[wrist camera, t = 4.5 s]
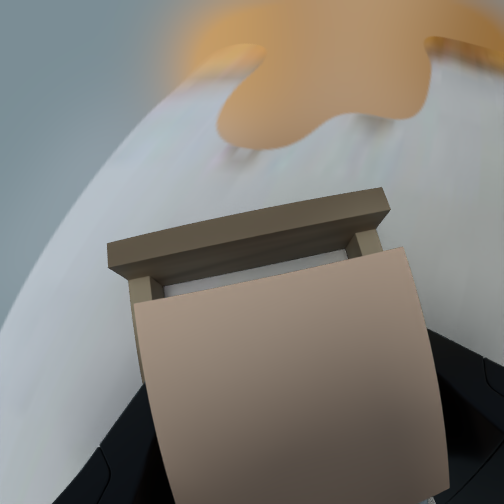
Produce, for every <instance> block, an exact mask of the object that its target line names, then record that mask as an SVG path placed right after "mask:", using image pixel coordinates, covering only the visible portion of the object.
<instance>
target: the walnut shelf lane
mask: <svg viewBox="0 0 504 504" xmlns="http://www.w3.org/2000/svg"><path fill="white" fill-rule="evenodd" d="M390 210H391V209H390V206H389V204H388V201H387V198H386V196H385V193H384V191H383V188H382V187H380V188H374V189H368V190H362V191H356V192H350V193H344V194H339V195H333V196H327V197H322V198H316V199H311V200H306V201H300V202H295V203H290V204H284V205H279V206H274V207H269V208H264V209H259V210H254V211H249V212H244V213H239V214H234V215H229V216H225V217H220V218H215V219H211V220H206V221H201V222H197V223H192V224H188V225H183V226H179V227H174V228H170V229H165V230H161V231H157V232H152V233H148V234H144V235H139V236H135V237H131V238H127V239H123V240H119V241H114V242H110V243H107V254H108V268H109V269H111V270H113V271H114V272H116V273H117V274H119V275H121V276H122V277H124V278H125V279H127V280H128V283H129V293H130V302H131V311H132V319H133V327H134V334H135V341H136V347H137V354H138V360H139V366H140V372H141V377H142V383H143V384H144V382H145V377H144V372H143V366H142V360H141V354H140V348H139V341H138V334H137V327H136V320H135V312H134V304H135V303H140V302H145V301H151V300H156V299H161V298H165V297H164V290H163V286H167V285H172V284H177V283H182V282H187V281H192V280H197V279H202V278H207V277H212V276H217V275H222V274H226V273H231V272H236V271H241V270H246V269H251V268H255V267H260V266H265V265H270V264H275V263H279V262H284V261H289V260H293V259H298V258H303V257H307V256H312V255H317V254H321V253H326V252H331V251H335V250H340V249H344V248H345V249H346V252H347V256H348V259H352V258H357V257H361V256H365V255H369V254H374V253H378V252H382V251H383V249H382V246H381V243H380V240H379V237H378V234H377V231H376V228H377V227H378V225H379V224H380V223H381V222H382V220H383V219H384V218H385V216H386V215H387V214H388V212H389V211H390Z"/></svg>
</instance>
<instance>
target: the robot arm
mask: <svg viewBox="0 0 504 504" xmlns="http://www.w3.org/2000/svg"><path fill="white" fill-rule="evenodd" d="M427 332H428V337H429V341H430V345H431V350H432V355H433V359H434V364H435V370H436V375H437V380H438V386H439V392H440V398H441V404H442V411H443V418H444V426H445V434H446V444H447V454H448V467H449V484H450V488H449V489H447V490H445V491H443V492H441V493H439V494H437V495H435V496H433V498H434V500H435V502H436V504H504V367H503V366H501V365H499V364H497V363H495V362H493V361H491V360H489V359H487V358H483V356H481V355H479V354H477V353H475V352H473V351H471V350H469V349H467V348H465V347H463V346H461V345H459V344H457V343H455V342H454V341H452V340H450V339H448V338H446V337H444V336H442V335H440V334H438V333H436V332H434V331H432V330H430V329H428V328H427ZM52 504H176V503H175V500H174V497H173V494H172V490H171V487H170V484H169V480H168V477H167V473H166V470H165V466H164V462H163V458H162V455H161V451H160V447H159V443H158V439H157V435H156V430H155V426H154V422H153V417H152V413H151V408H150V403H149V398H148V393H147V388H146V383H145V382H144V384H143V385H142V386H141V388H140V389H139V391H138V392H137V393H136V395H135V396H134V397H133V399H132V400H131V402H130V403H129V404H128V406H127V407H126V409H125V410H124V411H123V413H122V414H121V416H120V417H119V418H118V420H117V421H116V422H115V424H114V425H113V427H112V428H111V429H110V431H109V432H108V434H107V435H106V436H105V438H104V439H103V441H102V442H101V443H100V447H98V448H97V449H96V450H95V452H94V453H93V455H92V456H91V457H90V459H89V460H88V461H87V463H86V464H85V465H84V467H83V468H82V469H81V471H80V472H79V473H78V474H77V476H76V477H75V478H74V479H73V480H72V482H71V483H70V484H69V485H68V486H67V487H66V489H65V490H64V491H63V492H62V493H61V494H60V495H59V496H58V497H57V499H56V500H55V501H54V502H53V503H52Z"/></svg>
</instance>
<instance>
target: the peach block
mask: <svg viewBox="0 0 504 504" xmlns="http://www.w3.org/2000/svg"><path fill="white" fill-rule="evenodd" d="M134 312H135V320H136V327H137V334H138V341H139V348H140V354H141V360H142V366H143V372H144V377H145V383H146V388H147V393H148V398H149V403H150V408H151V413H152V417H153V422H154V426H155V430H156V435H157V439H158V443H159V447H160V451H161V455H162V458H163V462H164V466H165V470H166V473H167V477H168V480H169V484H170V487H171V490H172V494H173V497H174V500H175V503H176V504H418V503H420V502H422V501H424V500H426V499H429V498H431V497H433V496H435V495H437V494H439V493H441V492H443V491H445V490H447V489H449V488H450V484H449V467H448V454H447V444H446V434H445V426H444V418H443V411H442V404H441V398H440V392H439V386H438V380H437V375H436V370H435V364H434V359H433V355H432V350H431V345H430V341H429V337H428V332H427V328H426V324H425V320H424V316H423V312H422V308H421V305H420V301H419V297H418V294H417V290H416V287H415V283H414V280H413V276H412V273H411V270H410V267H409V263H408V260H407V257H406V254H405V251H404V248H403V247H399V248H395V249H391V250H386V251H382V252H378V253H374V254H369V255H365V256H361V257H357V258H352V259H348V260H343V261H339V262H335V263H330V264H326V265H321V266H317V267H312V268H308V269H303V270H299V271H294V272H289V273H285V274H280V275H275V276H271V277H266V278H261V279H256V280H252V281H247V282H242V283H237V284H232V285H227V286H222V287H218V288H213V289H208V290H203V291H197V292H192V293H187V294H182V295H177V296H172V297H167V298H161V299H156V300H151V301H145V302H140V303H135V304H134Z"/></svg>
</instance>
